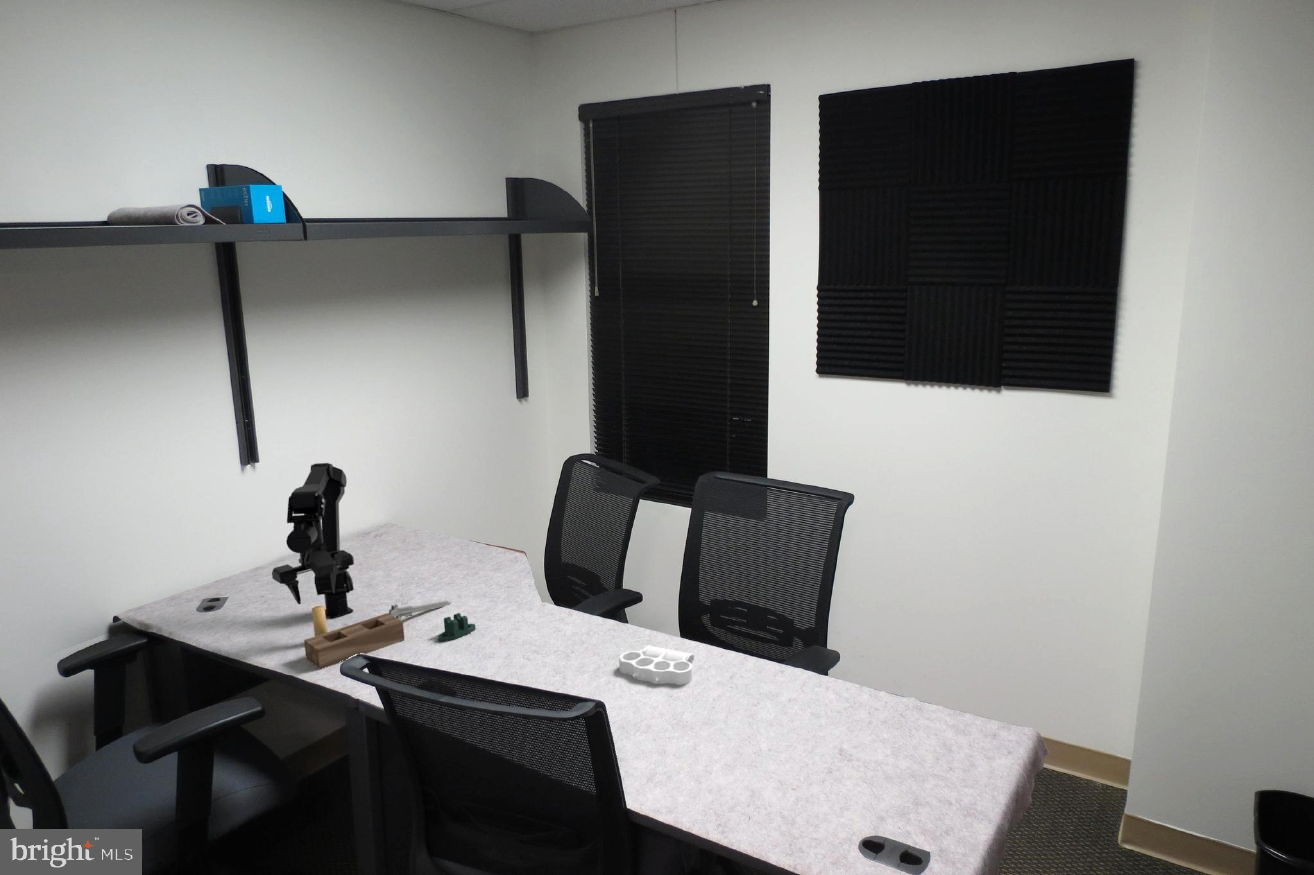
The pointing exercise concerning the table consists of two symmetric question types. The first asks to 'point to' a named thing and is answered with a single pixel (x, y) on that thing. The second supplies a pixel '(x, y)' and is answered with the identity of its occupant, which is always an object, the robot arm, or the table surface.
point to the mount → (455, 628)
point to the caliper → (414, 609)
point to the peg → (319, 620)
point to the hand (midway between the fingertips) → (317, 598)
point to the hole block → (353, 640)
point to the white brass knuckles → (658, 665)
